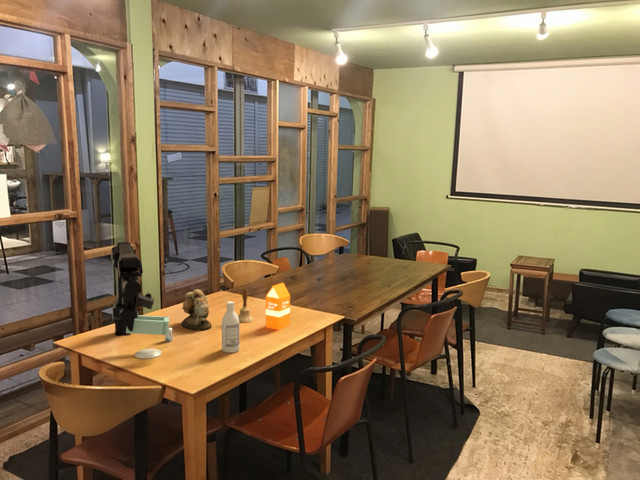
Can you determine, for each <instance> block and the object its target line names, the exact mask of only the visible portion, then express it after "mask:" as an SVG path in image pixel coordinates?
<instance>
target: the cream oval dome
mask: <svg viewBox="0 0 640 480" xmlns="http://www.w3.org/2000/svg"><path fill="white" fill-rule="evenodd" d="M161 355H162V351H161V349H158V348H145V349H140V350H138V351H136V352H134V357H135V358H137V359H140V360H147V359H155V358H158V357H159V356H161Z"/></svg>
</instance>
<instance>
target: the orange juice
mask: <svg viewBox="0 0 640 480" xmlns="http://www.w3.org/2000/svg"><path fill="white" fill-rule="evenodd" d="M290 321H291V294H290V293H289V291H288V288H287V287H286V285H285V283H284V282H281V283H277V284H274V285H272V286H271V288H270V290H269V291H268V293H267V294H266V296H265V328H267V329H269V328H270V329H273V330H277V331H279V330H282V329H284V328H287V327H289V326H290V324H291V322H290Z"/></svg>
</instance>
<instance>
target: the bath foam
mask: <svg viewBox="0 0 640 480" xmlns="http://www.w3.org/2000/svg"><path fill="white" fill-rule="evenodd" d="M238 316H239V315H238V314H237V313H236V312H235V302H234V301H229V300H228V301H227V302H226V312H225V313H224V314H223V317H222V318H221V350H222V352H223V353H227V354H230V353H231V354H232V353H237V352H238V351H240V322H239V318H238Z"/></svg>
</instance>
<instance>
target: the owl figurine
mask: <svg viewBox="0 0 640 480" xmlns="http://www.w3.org/2000/svg"><path fill="white" fill-rule="evenodd" d="M184 297H185V299H184V301H183V303H182V307H181V309H182V310H183V312H184V313H185V314H187V315H188V316H186V317H184V319H183V320H182V321H181V327H183V328H184V329H187V330H190V331H197V332H198V331H201V332H202V331H208V330H210V329H212V327H213V326H212V323H211V322H210V321H209V320H208V319H207V318H208V316H209V313H210V309H209V303H208V301H209V300H208V297H207V296H206V295H205V294H204V291H202V290H201V289H198V288H196V289H193V291H188V292H186V293H185V296H184Z"/></svg>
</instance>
